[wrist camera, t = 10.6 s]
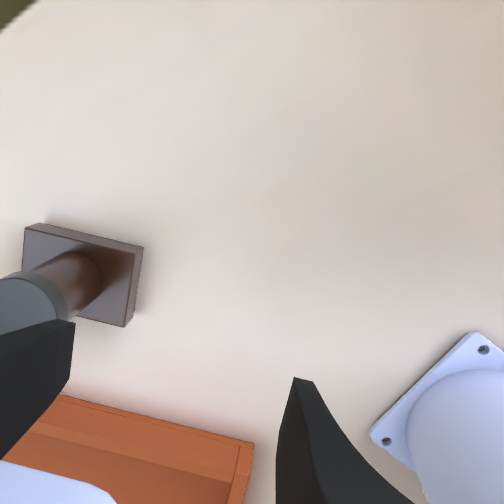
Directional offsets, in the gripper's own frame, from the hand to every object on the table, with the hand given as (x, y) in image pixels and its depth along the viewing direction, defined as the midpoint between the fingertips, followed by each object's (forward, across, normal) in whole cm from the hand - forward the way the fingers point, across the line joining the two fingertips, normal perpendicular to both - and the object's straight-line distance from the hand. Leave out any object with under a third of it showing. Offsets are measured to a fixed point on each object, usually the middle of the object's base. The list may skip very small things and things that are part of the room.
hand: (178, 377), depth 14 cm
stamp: (+9, +7, +1) cm, 12 cm away
